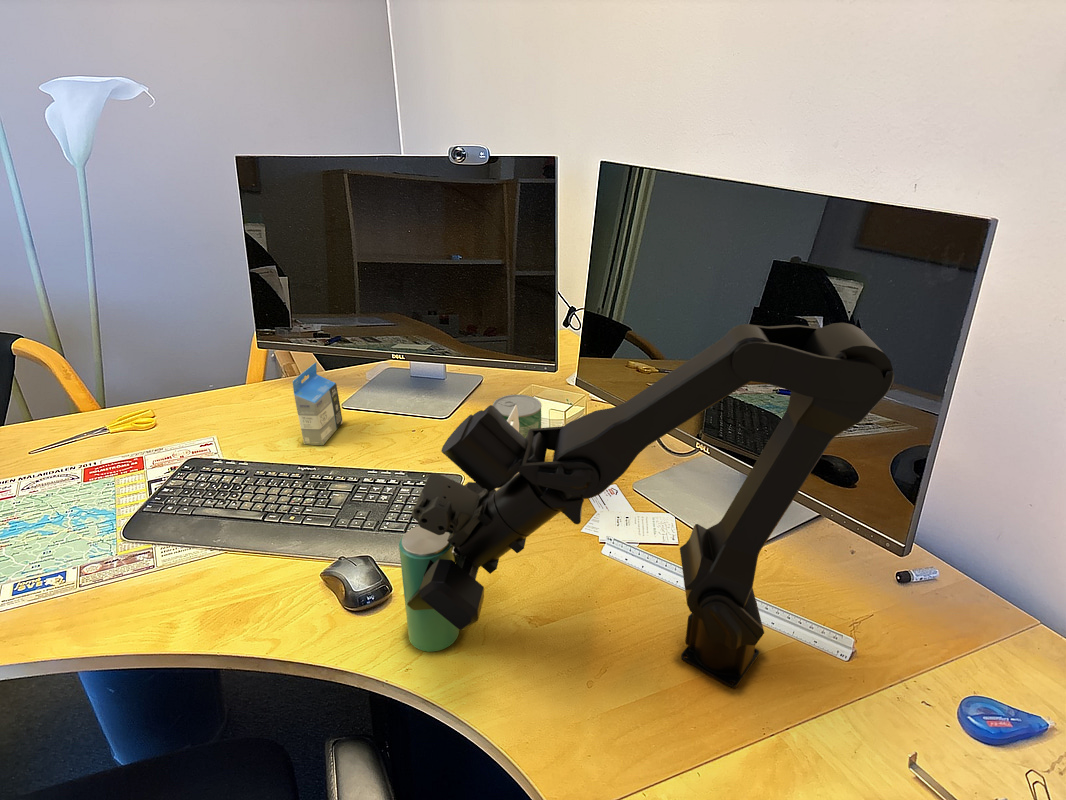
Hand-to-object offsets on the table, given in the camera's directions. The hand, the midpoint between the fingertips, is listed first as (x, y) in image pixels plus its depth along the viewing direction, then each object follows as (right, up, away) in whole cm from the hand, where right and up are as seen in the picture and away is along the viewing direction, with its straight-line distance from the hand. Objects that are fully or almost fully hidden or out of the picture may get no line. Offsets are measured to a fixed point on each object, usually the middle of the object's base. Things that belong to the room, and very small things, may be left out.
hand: (418, 587), depth 75 cm
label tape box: (-25, +15, +47) cm, 55 cm away
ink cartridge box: (+8, +6, +28) cm, 29 cm away
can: (+1, -6, +3) cm, 7 cm away
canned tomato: (+10, +10, +37) cm, 40 cm away
